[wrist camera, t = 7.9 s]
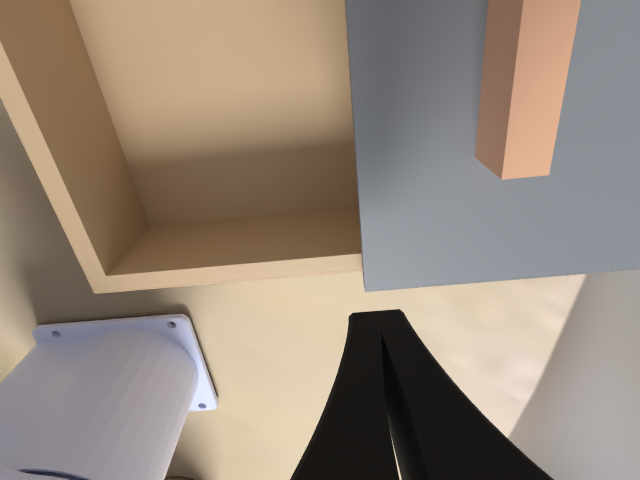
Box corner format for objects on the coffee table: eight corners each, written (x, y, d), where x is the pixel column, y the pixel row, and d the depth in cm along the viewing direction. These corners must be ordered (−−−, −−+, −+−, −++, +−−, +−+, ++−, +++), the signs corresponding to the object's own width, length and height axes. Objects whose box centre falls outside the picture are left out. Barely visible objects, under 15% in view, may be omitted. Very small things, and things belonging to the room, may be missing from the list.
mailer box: (144, 236, 20) (94, 293, 16) (-49, -287, 12) (-279, -483, 7) (413, 211, 19) (440, 264, 15) (419, -374, 11) (484, -656, 6)
